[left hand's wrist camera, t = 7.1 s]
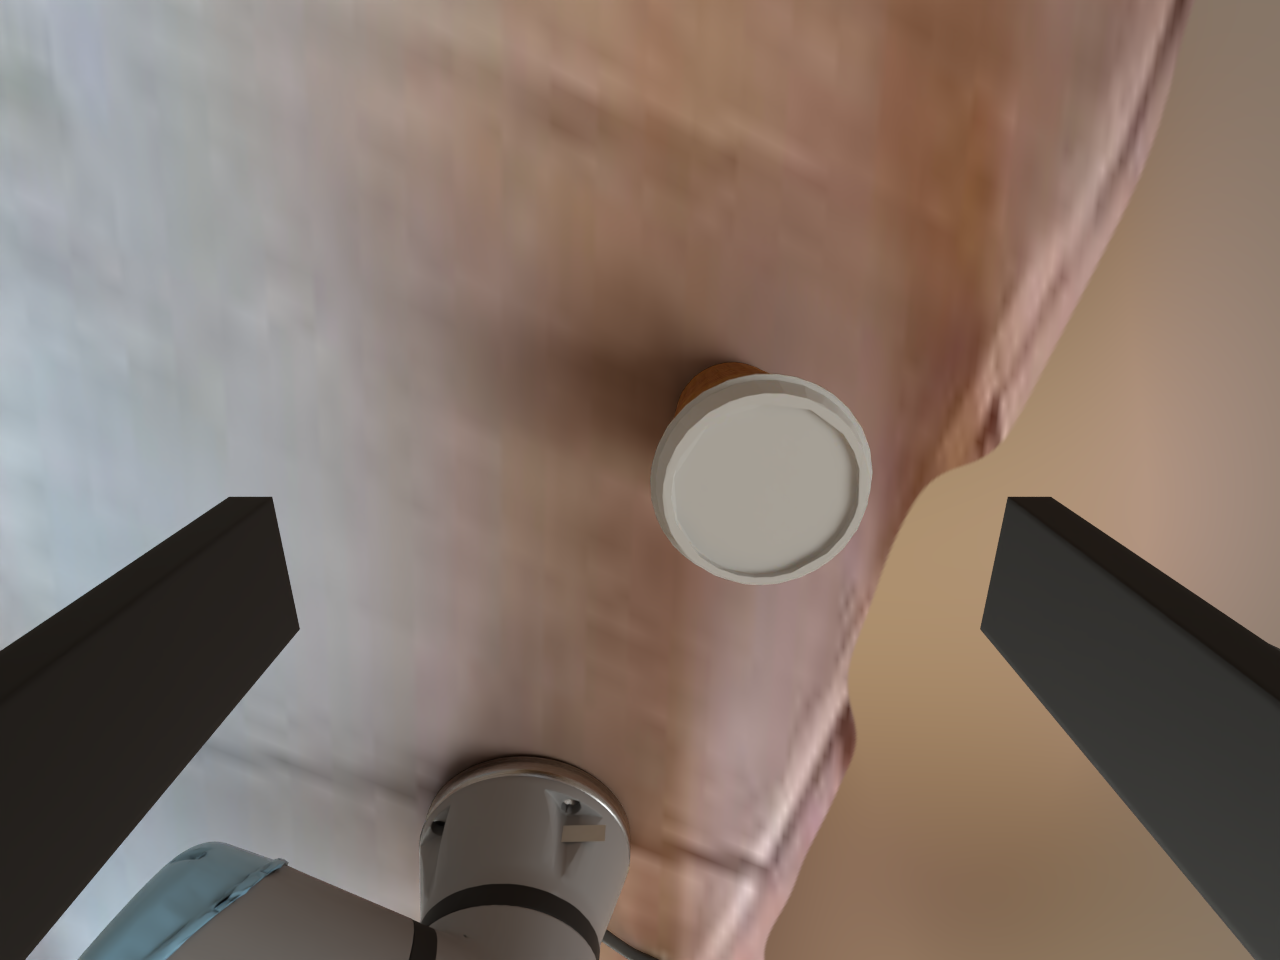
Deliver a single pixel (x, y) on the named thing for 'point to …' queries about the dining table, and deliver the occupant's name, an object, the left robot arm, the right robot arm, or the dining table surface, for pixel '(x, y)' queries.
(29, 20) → the dining table surface
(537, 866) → the left robot arm
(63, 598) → the dining table surface
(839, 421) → the disposable coffee cup
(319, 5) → the dining table surface
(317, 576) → the dining table surface
